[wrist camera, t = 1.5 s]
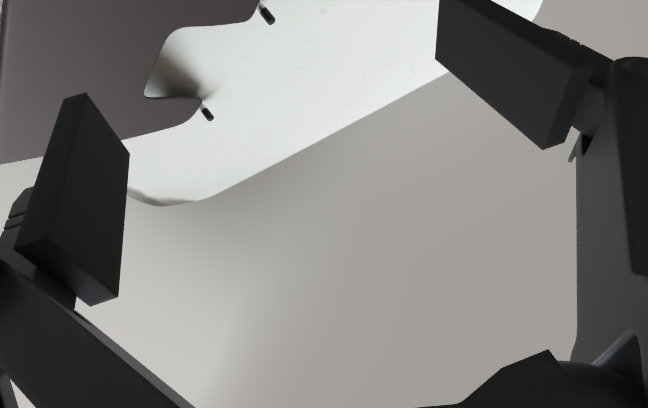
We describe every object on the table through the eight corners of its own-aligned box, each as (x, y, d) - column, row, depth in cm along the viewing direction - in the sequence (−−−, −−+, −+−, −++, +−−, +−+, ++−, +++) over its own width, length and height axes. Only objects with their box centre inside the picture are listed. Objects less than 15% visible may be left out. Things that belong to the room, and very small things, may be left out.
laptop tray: (164, 86, 52) (203, 137, 52) (-52, 106, 34) (3, 185, 33) (240, -75, 38) (294, -8, 38) (-59, -186, 20) (36, -60, 19)
